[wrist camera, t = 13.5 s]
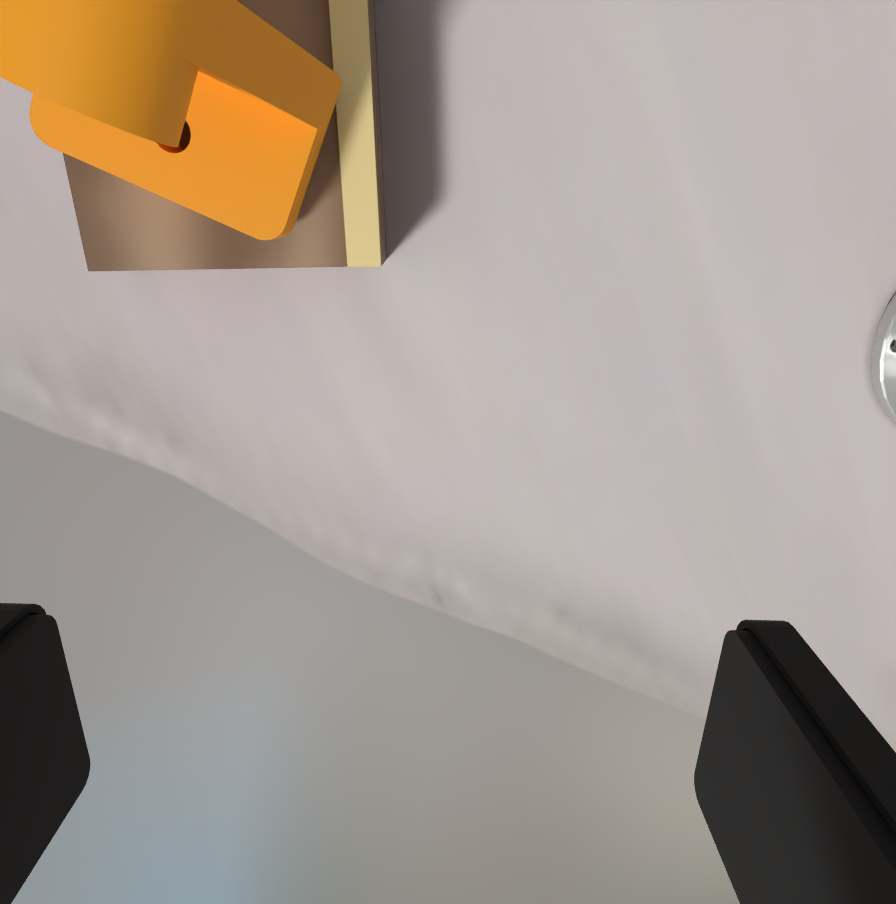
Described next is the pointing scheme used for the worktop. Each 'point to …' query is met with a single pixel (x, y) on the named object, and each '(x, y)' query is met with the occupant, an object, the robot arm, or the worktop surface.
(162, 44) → the bracket
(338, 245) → the dock
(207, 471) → the worktop surface
